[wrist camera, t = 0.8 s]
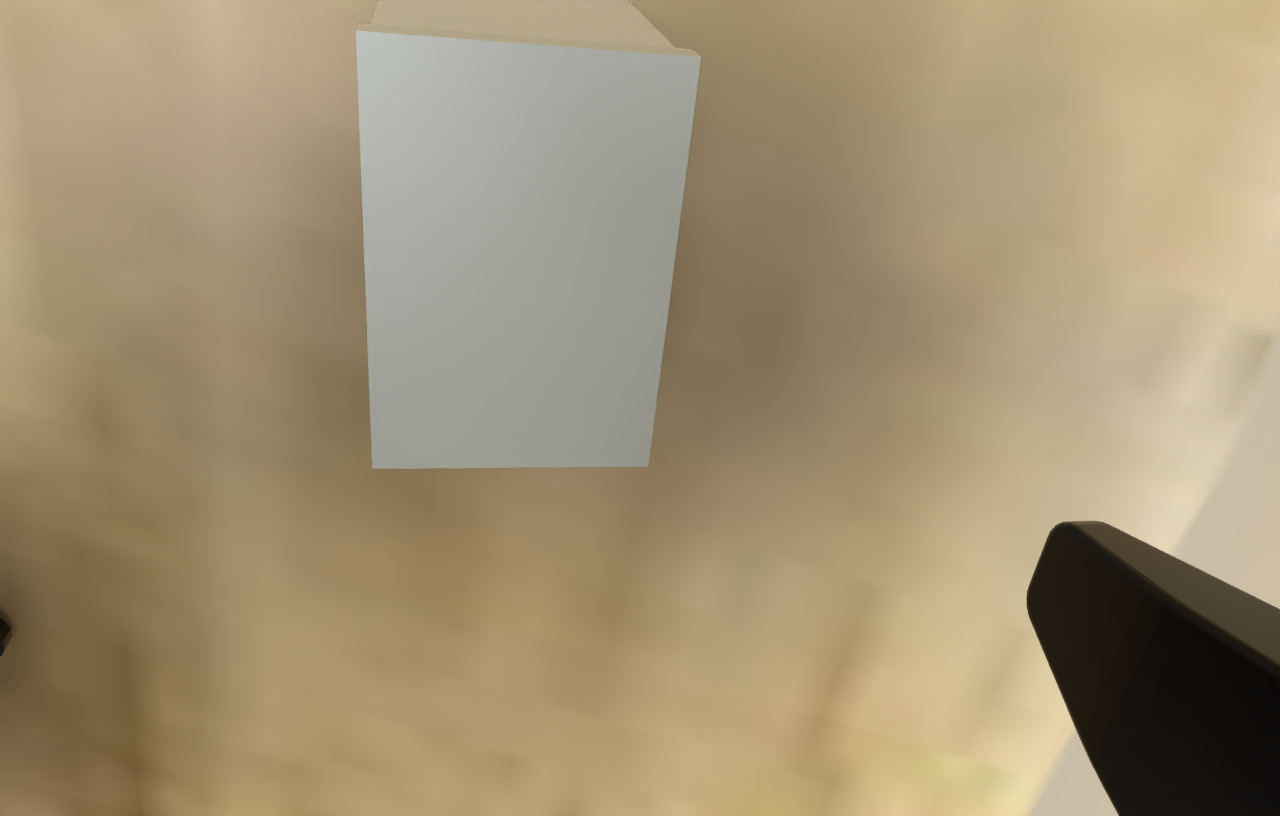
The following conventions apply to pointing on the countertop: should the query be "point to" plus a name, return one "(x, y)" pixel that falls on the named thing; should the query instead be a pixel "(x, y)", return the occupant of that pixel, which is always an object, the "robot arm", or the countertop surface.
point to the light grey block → (518, 228)
